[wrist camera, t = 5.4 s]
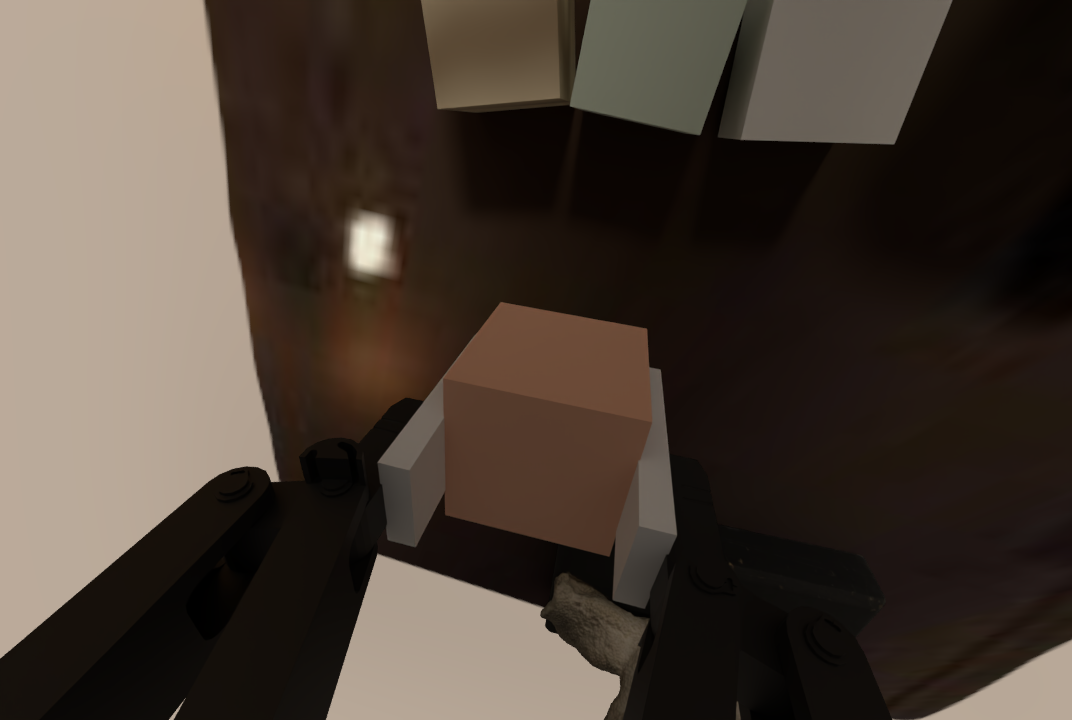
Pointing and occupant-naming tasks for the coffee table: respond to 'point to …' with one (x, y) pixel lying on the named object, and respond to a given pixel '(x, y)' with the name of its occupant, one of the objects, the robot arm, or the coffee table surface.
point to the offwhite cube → (828, 69)
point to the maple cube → (501, 53)
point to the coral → (759, 564)
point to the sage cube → (655, 60)
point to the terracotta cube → (547, 425)
